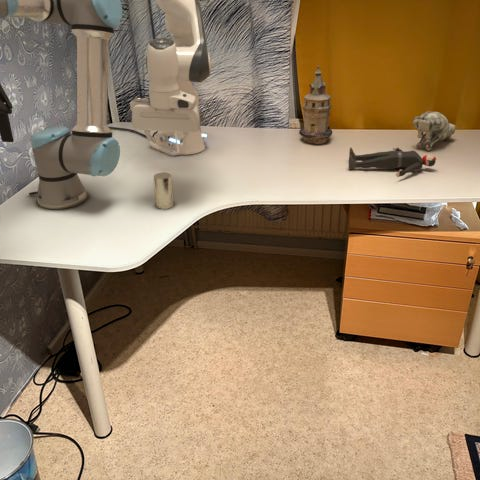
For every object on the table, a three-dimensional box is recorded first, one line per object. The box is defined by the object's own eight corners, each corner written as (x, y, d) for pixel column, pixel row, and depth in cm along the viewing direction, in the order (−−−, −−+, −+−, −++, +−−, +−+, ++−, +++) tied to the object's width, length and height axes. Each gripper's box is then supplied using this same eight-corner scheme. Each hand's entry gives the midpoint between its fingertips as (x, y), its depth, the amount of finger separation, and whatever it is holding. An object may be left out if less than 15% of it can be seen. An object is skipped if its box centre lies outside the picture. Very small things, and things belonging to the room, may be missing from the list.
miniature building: (320, 132, 228) (325, 59, 214) (338, 142, 217) (344, 66, 203) (293, 137, 224) (296, 63, 209) (310, 147, 213) (314, 69, 198)
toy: (350, 139, 204) (432, 140, 198) (349, 155, 207) (431, 156, 201) (348, 164, 182) (441, 166, 176) (347, 181, 185) (438, 183, 179)
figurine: (442, 162, 206) (466, 135, 215) (430, 119, 197) (456, 92, 206) (420, 162, 213) (444, 135, 222) (407, 120, 205) (433, 94, 213)
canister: (154, 208, 167) (151, 178, 162) (159, 201, 171) (156, 171, 166) (170, 209, 166) (167, 179, 161) (175, 202, 170) (172, 172, 165)
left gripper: (-53, 68, 102) (-25, 172, 112) (15, 45, 123) (33, 134, 134) (-89, 67, 103) (-57, 170, 114) (-15, 45, 125) (6, 133, 135)
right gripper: (126, 100, 153) (131, 146, 160) (197, 103, 152) (198, 149, 159) (132, 94, 159) (136, 139, 165) (200, 97, 157) (201, 142, 164)
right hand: (167, 144), depth 162 cm, fingers open, 8 cm apart
